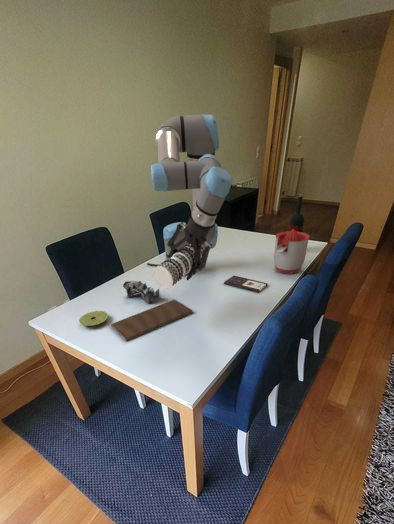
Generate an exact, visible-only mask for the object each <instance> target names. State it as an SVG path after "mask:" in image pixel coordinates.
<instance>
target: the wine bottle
mask: <svg viewBox="0 0 394 524" xmlns="http://www.w3.org/2000/svg"><path fill="white" fill-rule="evenodd" d="M303 195H304V193H299V194H298V196H297V201H296V202H297V203H296V209H295V213H293V214H292V215H291V216H290V218H289V223H288V230H287V231H291V230H292V229H294V230H295V231H296V232H303V229H304V224H305V223H304V222H305V216H304V215H303V214H302V213H301V210H302V203H303Z"/></svg>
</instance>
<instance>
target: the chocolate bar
mask: <svg viewBox="0 0 394 524" xmlns="http://www.w3.org/2000/svg"><path fill="white" fill-rule="evenodd" d="M223 284H224V285H227V286H231V287H233V288H234V287H235V288H238V289H241V290H242V289H243V290H246V291H250V292H255V293H260V292H261V291H262V290H263V289H264V288H266V287H267V286H268V283H267V282H264V281H260V280H255V279H251V278H248V277H242V276H238V275H232V276H231V277H230V278H228V279H226V280H225V281H224V282H223Z"/></svg>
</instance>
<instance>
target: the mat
mask: <svg viewBox="0 0 394 524" xmlns="http://www.w3.org/2000/svg"><path fill="white" fill-rule="evenodd" d="M108 317H109V314H108V313H107V312H106V311H103V310H95V311H90V312H89V311H88V312H87V313H85V314H83V315H81V316H80V318H79V320H78V322H79V323H80V324H81V325H82V326H88V327H89V326H90V327H91V326H96V325H100V324H102V323H103V322H105V321H106V320H107V319H108Z"/></svg>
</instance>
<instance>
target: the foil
mask: <svg viewBox="0 0 394 524" xmlns="http://www.w3.org/2000/svg"><path fill="white" fill-rule="evenodd" d="M122 287H123V289H125V290H126V294H127V295H126V297H127V298H132V297H133V296H135V295H136V294H139V293H140V297H141V298H142V300H143V301H144V302H145V303H147V304H150V303H151V299H152V298H155V297H159V296H160V288H157V290H156V291H155V289H154V287H152V286H149V287H148V286H147V284H146V282H144V283H143V282H142V281H141V280H139V281H137V280H136V281H135V280H130V281H129V280H128V281H126V280H125V282H124V283H123V285H122Z"/></svg>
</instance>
